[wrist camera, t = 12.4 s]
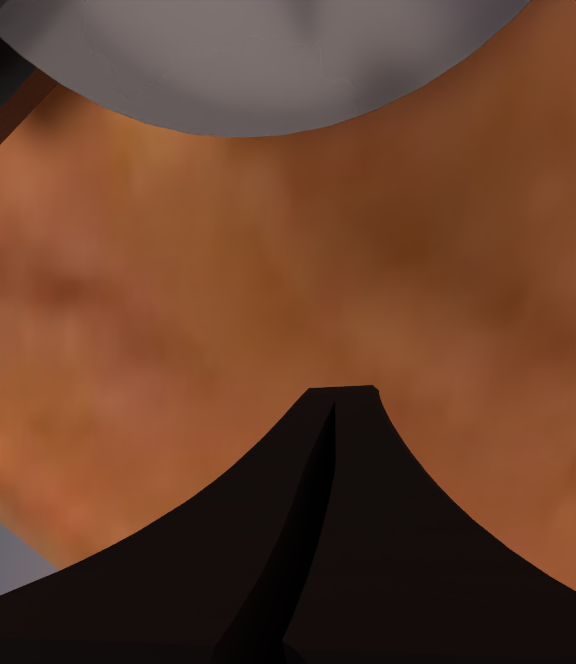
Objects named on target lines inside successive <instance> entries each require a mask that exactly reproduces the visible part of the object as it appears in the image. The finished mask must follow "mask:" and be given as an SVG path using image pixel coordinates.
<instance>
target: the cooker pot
mask: <svg viewBox="0 0 576 664" xmlns="http://www.w3.org/2000/svg"><path fill="white" fill-rule="evenodd" d="M58 83H59V82H57V81H56V80H54V79H53V78H52V77H50V76H49V75H47V74H46V73H45V72H43V71H42V70H40V69H39V68H38V67H36V66H35V65H33V64H32V63H31V62H29V61H28V60H26V59H25V58H24V57H22V56H21V55H20V54H19V53H18V52H16V51H15V50H14V49H13V48H12V47H11V46H10V45H9V44H8V43H6V42H5V41H4V40H3V39H2V38H1V37H0V144H1V143H2V142H3V141H4V140H5V139H6V138H7V137H8V136H9V135H10V134H11V133H12V132H13V131H14V129H15V128H16V127H17V126H18V125H19V124H20V123H21V122H22V121H23V120H24V119H25V118H26V117H27V116H28V115H29V114H30V112H31V111H32V110H33V109H34V108H35V107H36V106H37V105H38V104H39V103H40V102H41V101H42V100H43V99H44V98H45V97H46V95H47V94H48V93H49V92H50V91H51V90H52V89H53V88H54V87H55V86H56V85H57V84H58Z"/></svg>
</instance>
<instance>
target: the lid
mask: <svg viewBox="0 0 576 664" xmlns="http://www.w3.org/2000/svg"><path fill="white" fill-rule="evenodd" d="M530 1H531V0H0V37H1V38H2V39H3V40H4V41H5V42H6V43H8V44H9V45H10V46H11V47H12V48H13V49H14V50H15V51H16V52H18V53H19V54H20V55H21V56H22V57H24V58H25V59H26V60H28V61H29V62H31V63H32V64H33V65H35V66H36V67H38V68H39V69H40V70H42V71H43V72H45V73H46V74H47V75H49V76H50V77H52V78H53V79H54V80H56V81H57V82H59V83H60V84H61V85H63V86H65V87H67V88H69V89H71V90H72V91H74V92H76V93H78V94H80V95H82V96H84V97H85V98H87V99H89V100H91V101H93V102H95V103H96V104H98V105H100V106H102V107H104V108H107V109H109V110H112V111H115V112H117V113H120V114H122V115H125V116H128V117H130V118H133V119H136V120H138V121H141V122H143V123H146V124H150V125H154V126H159V127H163V128H167V129H172V130H176V131H180V132H184V133H189V134H197V135H208V136H220V137H231V138H244V137H263V136H282V135H287V134H292V133H297V132H302V131H307V130H312V129H317V128H322V127H328V126H331V125H334V124H337V123H340V122H342V121H345V120H348V119H351V118H354V117H357V116H360V115H363V114H366V113H369V112H372V111H375V110H377V109H379V108H381V107H383V106H385V105H387V104H389V103H391V102H393V101H395V100H397V99H399V98H401V97H403V96H405V95H407V94H409V93H411V92H413V91H415V90H417V89H419V88H421V87H423V86H425V85H426V84H428V83H429V82H431V81H432V80H434V79H435V78H437V77H438V76H440V75H441V74H443V73H444V72H446V71H447V70H449V69H450V68H452V67H453V66H455V65H456V64H458V63H459V62H461V61H462V60H464V59H465V58H467V57H468V56H470V55H471V54H472V53H474V52H475V51H476V50H477V49H478V48H479V47H481V46H482V45H483V44H484V43H485V42H486V41H488V40H489V39H490V38H491V37H492V36H493V35H495V34H496V33H497V32H498V31H499V30H501V29H502V28H503V27H504V26H505V25H506V24H508V23H509V22H510V21H511V20H512V19H513V18H515V17H516V16H517V15H518V14H519V13H520V12H521V11H522V10H523V9H524V8H525V7H526V6H527V5H528V3H529V2H530Z"/></svg>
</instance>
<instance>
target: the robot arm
mask: <svg viewBox="0 0 576 664" xmlns="http://www.w3.org/2000/svg"><path fill="white" fill-rule="evenodd" d="M0 664H576V591H574V590H573V589H571V588H569V587H567V586H566V585H564V584H562V583H560V582H559V581H557V580H555V579H553V578H552V577H550V576H549V575H547V574H546V573H544V572H543V571H541V570H540V569H538V568H537V567H535V566H534V565H532V564H531V563H529V562H528V561H526V560H525V559H524V558H522V557H521V556H519V555H518V554H516V553H515V552H513V551H512V550H510V549H509V548H508V547H507V546H505V545H504V544H503V543H502V542H500V541H499V540H498V539H497V538H495V537H494V536H493V535H492V534H490V533H489V532H488V531H487V530H485V529H484V528H483V527H482V526H480V525H479V524H478V523H477V522H475V521H474V520H473V519H472V518H471V517H470V516H469V515H468V514H467V513H466V512H465V511H463V510H462V509H461V508H460V507H459V506H458V505H457V504H456V503H455V502H454V501H453V500H452V499H451V498H450V497H449V496H448V495H447V494H446V493H445V492H444V491H443V490H442V489H441V488H440V487H439V486H438V485H437V483H436V482H435V481H434V480H433V479H432V478H431V477H430V475H429V474H428V473H427V472H426V471H425V470H424V468H423V467H422V466H421V464H420V463H419V462H418V461H417V459H416V458H415V457H414V456H413V454H412V453H411V452H410V450H409V449H408V447H407V446H406V445H405V443H404V442H403V440H402V438H401V437H400V435H399V434H398V432H397V431H396V429H395V427H394V426H393V424H392V422H391V421H390V419H389V417H388V415H387V413H386V411H385V409H384V407H383V405H382V402H381V399H380V396H379V390H378V389H376V388H375V387H374V386H373V385H365V386H344V387H324V388H308V390H307V391H306V392H305V393H304V394H303V395H302V396H301V397H300V398H299V399H298V400H297V401H296V402H295V403H294V405H293V406H292V407H291V408H290V409H289V410H288V411H287V412H286V414H285V415H284V416H283V417H282V418H281V419H280V420H279V421H278V422H277V423H276V424H275V426H274V427H273V428H272V429H271V430H270V431H269V432H268V433H267V434H266V435H265V436H264V437H263V438H262V439H261V440H260V441H259V442H258V443H257V444H256V445H255V446H254V447H253V448H251V449H250V450H249V451H248V452H247V453H246V454H245V455H244V456H243V457H242V458H241V459H240V460H238V461H237V462H236V463H235V464H234V465H233V466H232V467H231V468H230V469H228V470H227V471H226V472H225V473H224V474H222V475H221V476H220V477H219V478H217V479H216V480H215V481H214V482H212V483H211V484H209V485H208V486H207V487H205V488H204V489H203V490H201V491H200V492H199V493H197V494H196V495H195V496H193V497H192V498H190V499H189V500H187V501H186V502H185V503H183V504H181V505H180V506H178V507H177V508H175V509H173V510H172V511H170V512H169V513H167V514H165V515H164V516H162V517H161V518H159V519H157V520H156V521H154V522H152V523H151V524H149V525H148V526H146V527H144V528H143V529H141V530H140V531H138V532H136V533H134V534H132V535H131V536H129V537H127V538H125V539H123V540H121V541H119V542H118V543H116V544H114V545H112V546H110V547H108V548H106V549H104V550H102V551H100V552H98V553H96V554H94V555H92V556H90V557H88V558H86V559H84V560H82V561H80V562H78V563H76V564H73V565H71V566H69V567H67V568H65V569H63V570H60V571H58V572H56V573H53V574H51V575H49V576H46V577H44V578H41V579H39V580H37V581H34V582H32V583H29V584H27V585H25V586H22V587H20V588H17V589H15V590H12V591H10V592H8V593H5V594H3V595H0Z"/></svg>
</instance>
